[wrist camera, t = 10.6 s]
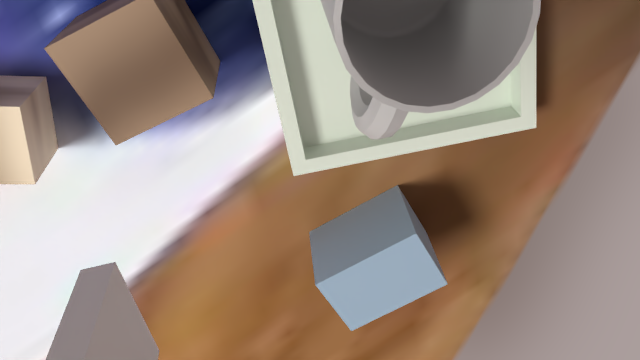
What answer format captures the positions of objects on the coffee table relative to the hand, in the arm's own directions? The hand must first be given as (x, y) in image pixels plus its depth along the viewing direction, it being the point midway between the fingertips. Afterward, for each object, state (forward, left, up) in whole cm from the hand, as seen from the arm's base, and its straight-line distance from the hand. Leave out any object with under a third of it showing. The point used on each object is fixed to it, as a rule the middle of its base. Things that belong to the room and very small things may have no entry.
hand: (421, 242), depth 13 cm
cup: (-1, +2, -19) cm, 19 cm away
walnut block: (-1, -9, -19) cm, 21 cm away
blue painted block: (+13, 0, -19) cm, 24 cm away
